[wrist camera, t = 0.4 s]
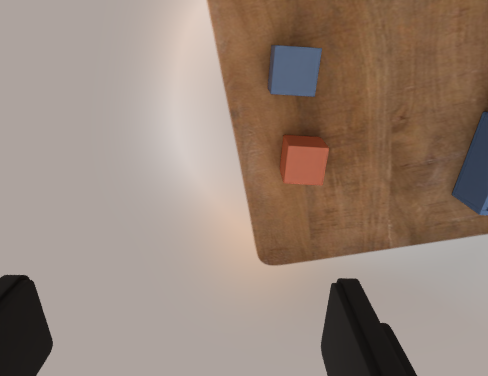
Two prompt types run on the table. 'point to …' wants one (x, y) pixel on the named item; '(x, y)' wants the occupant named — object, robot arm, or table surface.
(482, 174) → the blue bin
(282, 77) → the blue block
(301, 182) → the terracotta block
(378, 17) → the table surface
